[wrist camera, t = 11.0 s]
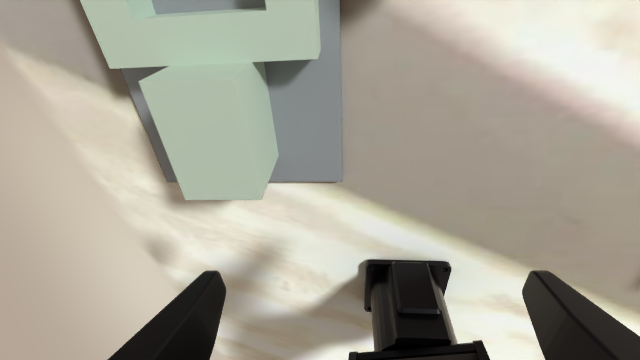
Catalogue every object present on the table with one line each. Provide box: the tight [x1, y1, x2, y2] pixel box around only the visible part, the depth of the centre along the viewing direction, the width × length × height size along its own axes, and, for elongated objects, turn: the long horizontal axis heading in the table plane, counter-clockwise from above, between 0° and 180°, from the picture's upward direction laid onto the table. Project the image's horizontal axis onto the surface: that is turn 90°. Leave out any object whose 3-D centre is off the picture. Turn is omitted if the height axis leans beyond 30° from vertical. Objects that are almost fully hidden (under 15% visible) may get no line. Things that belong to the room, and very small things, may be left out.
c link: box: [80, 0, 321, 200], centre depth 12 cm, size 16×10×4 cm, turn 4°
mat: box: [120, 0, 343, 182], centre depth 15 cm, size 20×12×1 cm, turn 3°
